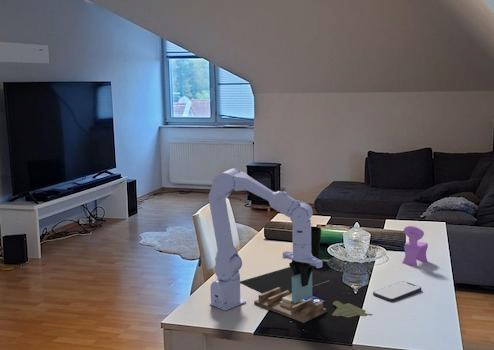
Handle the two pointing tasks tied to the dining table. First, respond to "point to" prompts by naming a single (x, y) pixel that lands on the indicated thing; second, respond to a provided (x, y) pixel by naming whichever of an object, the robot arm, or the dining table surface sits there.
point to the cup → (315, 241)
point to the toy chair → (414, 246)
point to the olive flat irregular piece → (348, 310)
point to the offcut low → (289, 304)
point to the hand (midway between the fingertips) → (302, 284)
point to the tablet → (278, 281)
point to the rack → (297, 312)
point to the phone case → (397, 291)
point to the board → (300, 288)
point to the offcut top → (288, 299)
